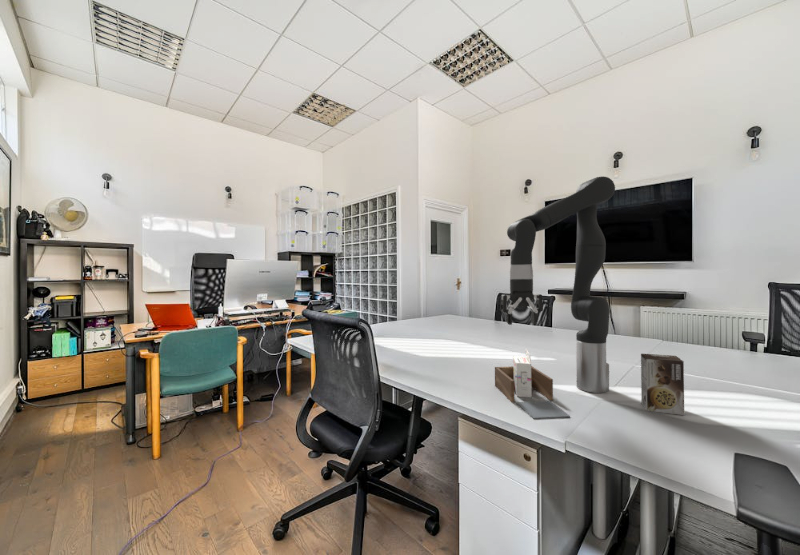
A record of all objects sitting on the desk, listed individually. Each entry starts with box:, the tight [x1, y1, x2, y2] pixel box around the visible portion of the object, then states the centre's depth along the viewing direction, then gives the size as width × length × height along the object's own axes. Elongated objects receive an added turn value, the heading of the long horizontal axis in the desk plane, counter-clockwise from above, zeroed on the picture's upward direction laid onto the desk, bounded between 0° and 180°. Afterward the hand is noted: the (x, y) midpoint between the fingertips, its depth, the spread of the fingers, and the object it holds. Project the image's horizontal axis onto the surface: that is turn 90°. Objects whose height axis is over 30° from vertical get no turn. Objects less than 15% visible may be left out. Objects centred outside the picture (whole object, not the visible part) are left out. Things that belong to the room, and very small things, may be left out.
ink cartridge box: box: [512, 348, 533, 398], centre depth 112 cm, size 9×5×15 cm, turn 168°
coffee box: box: [640, 353, 685, 416], centre depth 97 cm, size 9×6×16 cm
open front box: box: [494, 365, 554, 403], centre depth 112 cm, size 14×15×7 cm
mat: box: [516, 400, 571, 420], centre depth 98 cm, size 11×11×1 cm
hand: (521, 324), depth 111 cm, fingers open, 8 cm apart
